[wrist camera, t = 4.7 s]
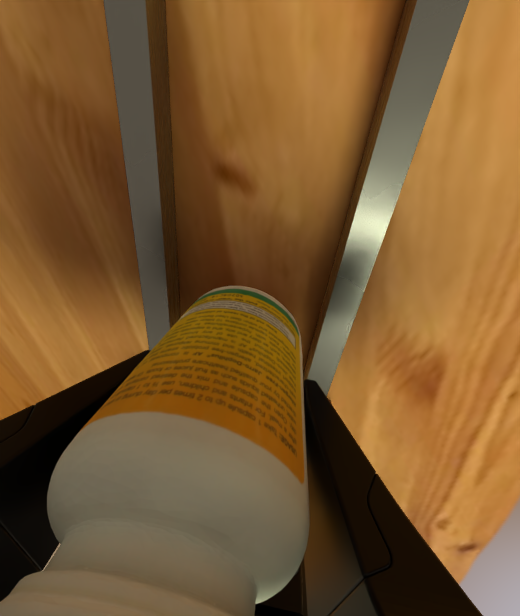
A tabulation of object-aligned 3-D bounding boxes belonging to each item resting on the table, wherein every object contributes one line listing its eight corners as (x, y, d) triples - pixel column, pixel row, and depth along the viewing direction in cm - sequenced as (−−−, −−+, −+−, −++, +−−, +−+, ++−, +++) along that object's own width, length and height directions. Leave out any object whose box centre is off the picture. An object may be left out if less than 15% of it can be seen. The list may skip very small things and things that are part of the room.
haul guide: (322, 423, 15) (329, 474, 12) (154, 391, 16) (126, 433, 13) (508, -68, 6) (682, -272, 3) (90, -100, 6) (-50, -293, 4)
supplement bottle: (305, 377, 12) (338, 887, 3) (203, 381, 13) (21, 777, 4) (294, 273, 9) (306, 1132, 1) (170, 288, 10) (-390, 752, 2)
